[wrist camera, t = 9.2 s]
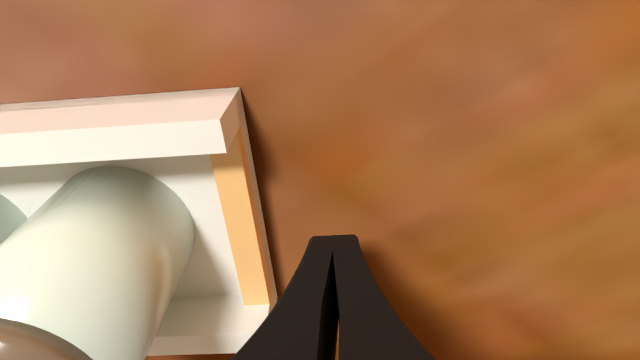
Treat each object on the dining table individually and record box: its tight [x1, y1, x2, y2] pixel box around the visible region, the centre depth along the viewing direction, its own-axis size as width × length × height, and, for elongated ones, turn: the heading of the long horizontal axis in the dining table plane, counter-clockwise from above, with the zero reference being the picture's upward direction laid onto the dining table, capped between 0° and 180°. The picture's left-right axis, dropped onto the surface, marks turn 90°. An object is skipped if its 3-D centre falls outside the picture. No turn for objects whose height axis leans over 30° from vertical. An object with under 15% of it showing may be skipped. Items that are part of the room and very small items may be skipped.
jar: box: [0, 166, 195, 360], centre depth 13 cm, size 5×5×7 cm
